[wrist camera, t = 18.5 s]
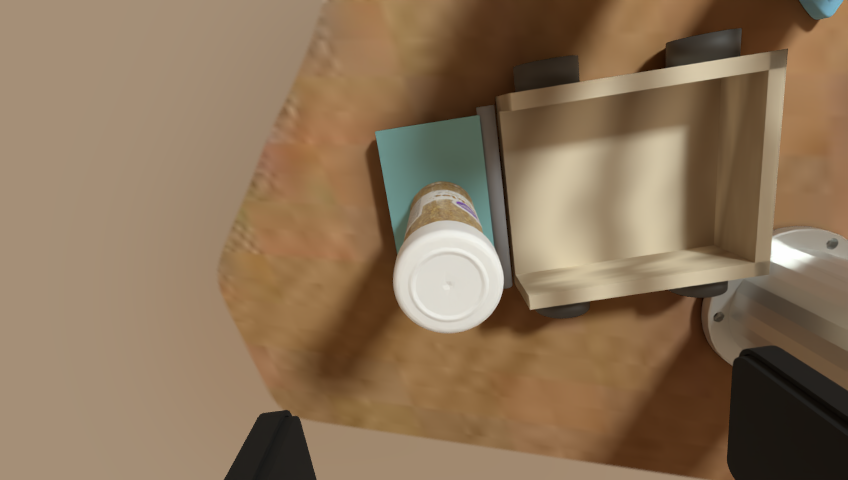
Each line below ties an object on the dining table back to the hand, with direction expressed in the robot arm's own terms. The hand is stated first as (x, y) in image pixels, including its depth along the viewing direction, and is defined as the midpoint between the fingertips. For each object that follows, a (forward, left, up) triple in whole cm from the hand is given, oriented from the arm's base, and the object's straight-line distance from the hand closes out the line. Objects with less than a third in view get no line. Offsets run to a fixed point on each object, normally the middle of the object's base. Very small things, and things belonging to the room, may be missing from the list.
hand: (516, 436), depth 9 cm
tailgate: (-4, 0, -22) cm, 22 cm away
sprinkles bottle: (0, 0, -22) cm, 22 cm away
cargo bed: (-13, 0, -23) cm, 27 cm away
